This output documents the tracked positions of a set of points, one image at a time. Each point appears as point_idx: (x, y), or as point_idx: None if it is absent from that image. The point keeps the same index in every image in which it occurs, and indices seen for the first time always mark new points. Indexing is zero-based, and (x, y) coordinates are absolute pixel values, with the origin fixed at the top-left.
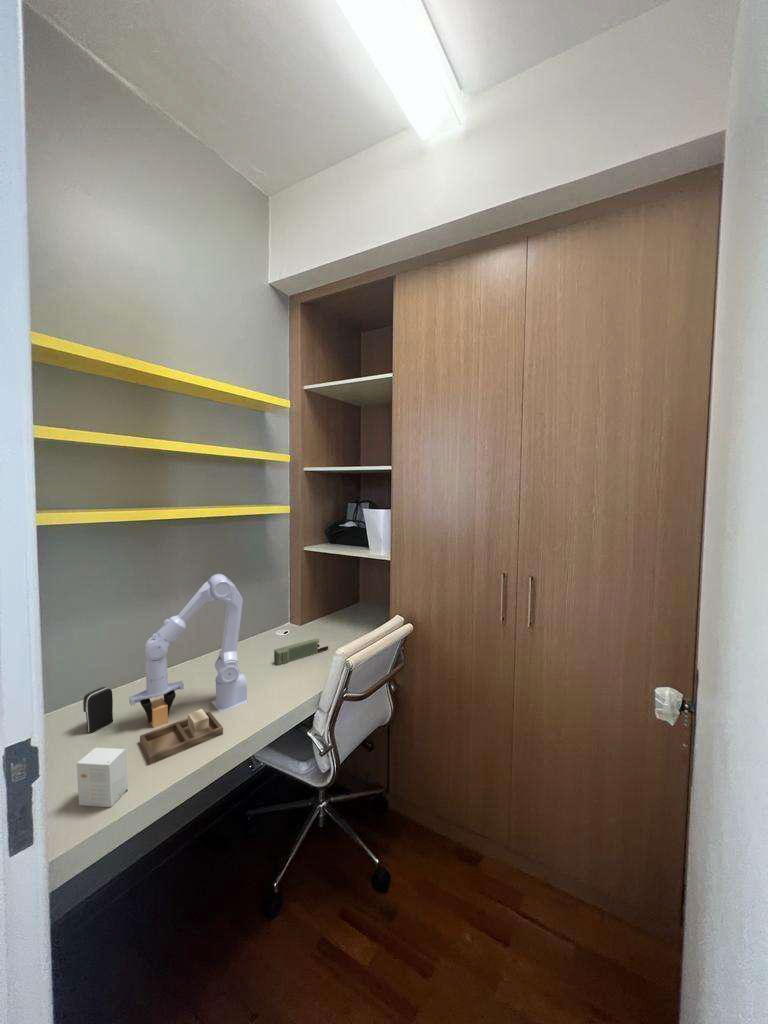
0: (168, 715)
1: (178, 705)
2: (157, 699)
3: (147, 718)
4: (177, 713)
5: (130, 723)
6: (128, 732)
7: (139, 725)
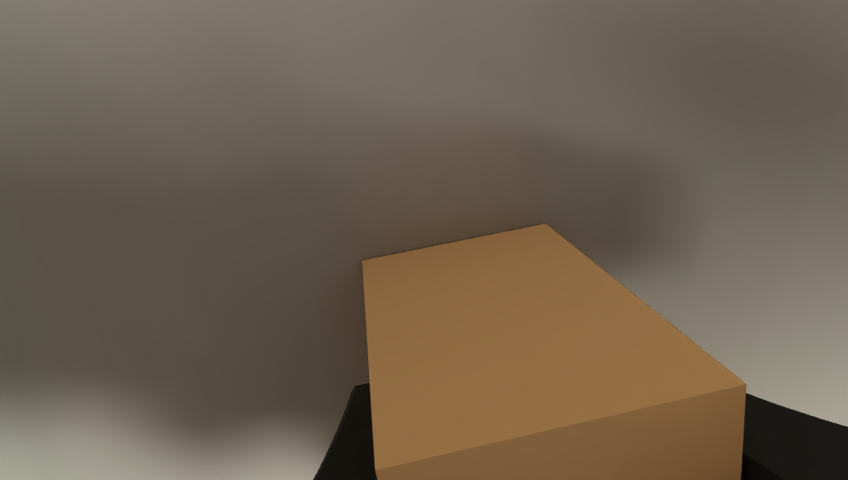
0: None
1: (788, 28)
2: (620, 415)
3: (348, 405)
4: (709, 258)
5: (103, 199)
6: (120, 418)
7: (244, 318)
